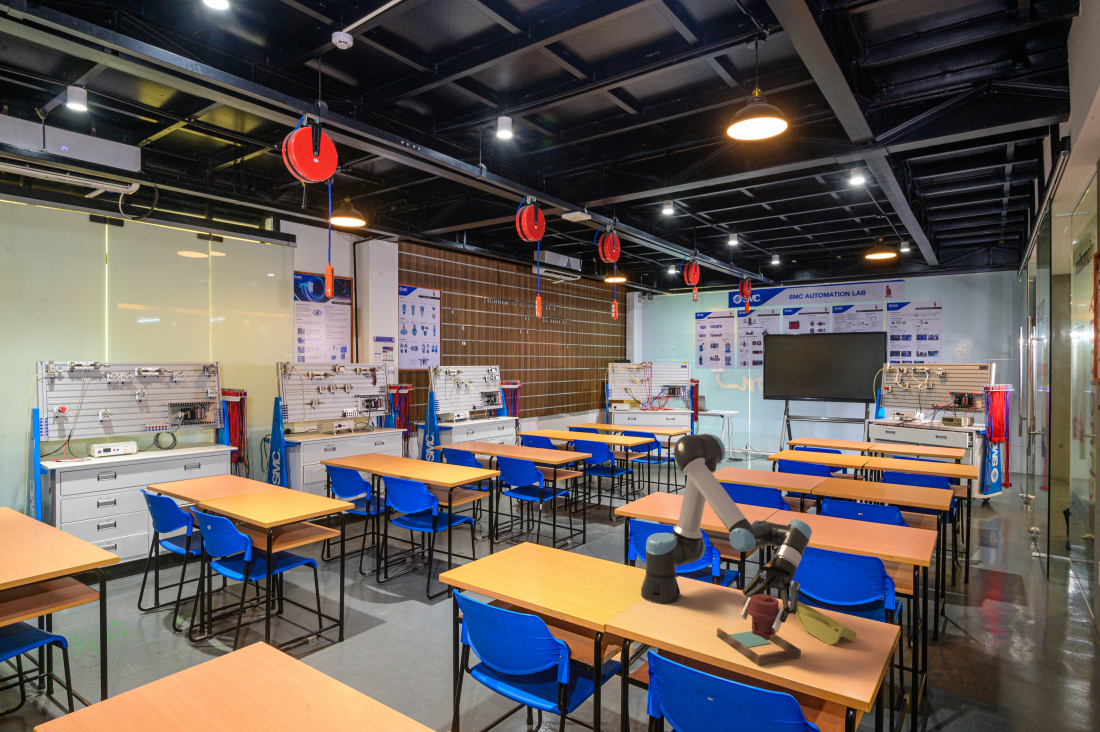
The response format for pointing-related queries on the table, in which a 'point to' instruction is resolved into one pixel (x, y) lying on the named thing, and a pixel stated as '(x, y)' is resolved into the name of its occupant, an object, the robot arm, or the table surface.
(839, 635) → the plastic component
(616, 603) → the table surface
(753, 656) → the bay
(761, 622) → the mechanical component
